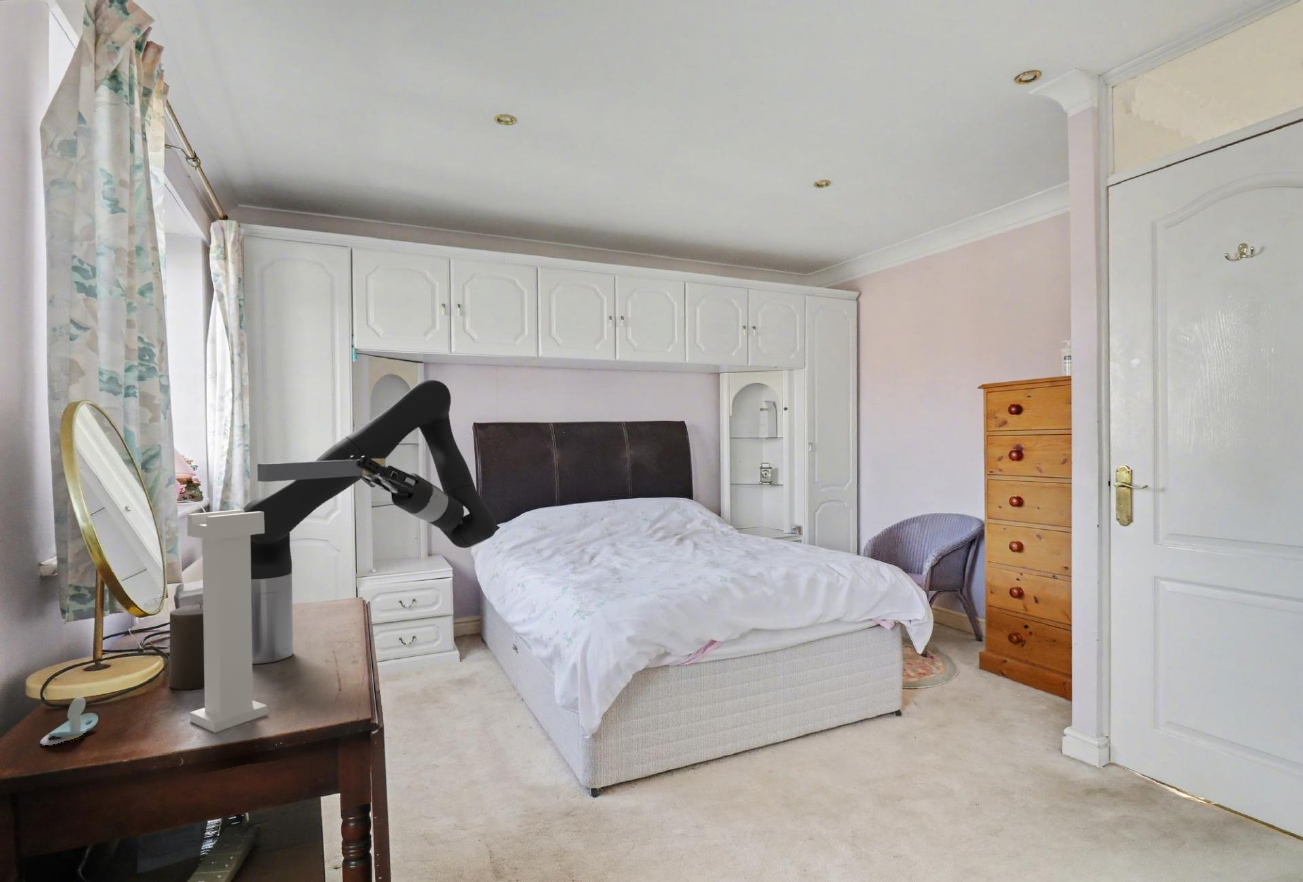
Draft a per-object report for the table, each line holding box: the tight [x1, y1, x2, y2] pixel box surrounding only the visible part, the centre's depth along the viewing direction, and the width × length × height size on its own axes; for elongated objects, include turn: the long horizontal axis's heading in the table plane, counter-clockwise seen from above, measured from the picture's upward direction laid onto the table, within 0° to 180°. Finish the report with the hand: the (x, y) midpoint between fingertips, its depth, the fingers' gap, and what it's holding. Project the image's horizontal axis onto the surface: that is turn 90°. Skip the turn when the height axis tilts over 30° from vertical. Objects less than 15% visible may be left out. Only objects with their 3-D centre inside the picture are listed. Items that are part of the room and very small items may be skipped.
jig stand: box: [186, 509, 268, 733], centre depth 111 cm, size 8×8×34 cm
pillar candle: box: [168, 601, 205, 691], centre depth 128 cm, size 10×10×15 cm
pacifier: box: [39, 695, 99, 746], centre depth 104 cm, size 7×6×6 cm
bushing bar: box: [256, 459, 386, 483], centre depth 125 cm, size 3×23×3 cm, turn 147°
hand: (355, 460), depth 130 cm, fingers closed on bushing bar, 3 cm apart
